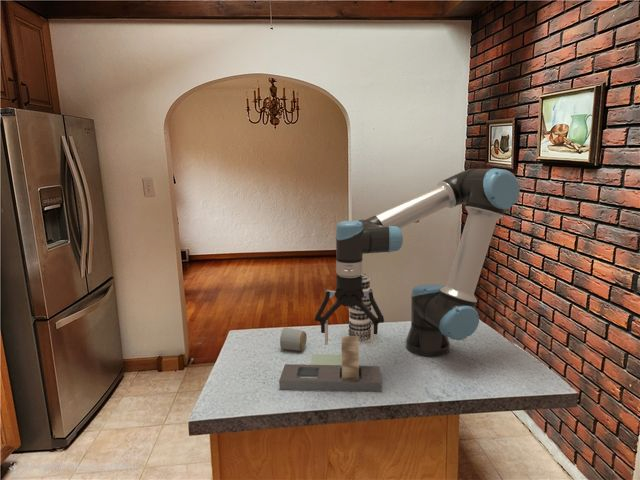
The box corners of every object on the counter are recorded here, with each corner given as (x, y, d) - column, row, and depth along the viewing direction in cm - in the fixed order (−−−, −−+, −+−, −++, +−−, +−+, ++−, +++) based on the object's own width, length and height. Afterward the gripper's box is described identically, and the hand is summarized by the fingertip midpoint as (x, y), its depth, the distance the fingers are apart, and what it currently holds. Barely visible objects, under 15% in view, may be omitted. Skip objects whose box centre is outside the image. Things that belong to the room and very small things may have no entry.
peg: (358, 378, 129) (358, 336, 126) (359, 387, 124) (358, 343, 121) (342, 378, 129) (342, 335, 126) (342, 386, 124) (341, 342, 122)
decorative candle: (347, 333, 162) (346, 271, 158) (371, 333, 162) (371, 271, 157) (347, 343, 153) (346, 278, 149) (373, 343, 153) (372, 278, 148)
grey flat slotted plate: (379, 374, 130) (379, 366, 130) (381, 392, 121) (381, 382, 120) (285, 372, 133) (284, 364, 133) (279, 389, 123) (279, 380, 123)
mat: (344, 355, 144) (344, 354, 144) (343, 371, 133) (343, 370, 133) (312, 355, 145) (312, 354, 145) (309, 371, 134) (309, 369, 134)
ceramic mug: (301, 354, 146) (301, 333, 144) (279, 352, 148) (279, 332, 146) (310, 342, 156) (309, 323, 154) (289, 340, 158) (288, 321, 156)
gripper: (304, 277, 118) (306, 347, 121) (394, 278, 115) (392, 350, 119) (307, 270, 125) (309, 337, 129) (391, 271, 123) (390, 339, 126)
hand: (349, 343), depth 124 cm, fingers open, 13 cm apart
